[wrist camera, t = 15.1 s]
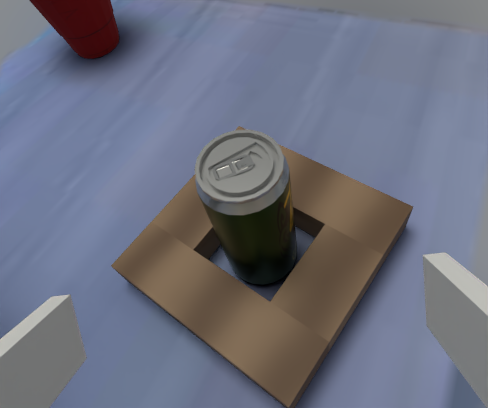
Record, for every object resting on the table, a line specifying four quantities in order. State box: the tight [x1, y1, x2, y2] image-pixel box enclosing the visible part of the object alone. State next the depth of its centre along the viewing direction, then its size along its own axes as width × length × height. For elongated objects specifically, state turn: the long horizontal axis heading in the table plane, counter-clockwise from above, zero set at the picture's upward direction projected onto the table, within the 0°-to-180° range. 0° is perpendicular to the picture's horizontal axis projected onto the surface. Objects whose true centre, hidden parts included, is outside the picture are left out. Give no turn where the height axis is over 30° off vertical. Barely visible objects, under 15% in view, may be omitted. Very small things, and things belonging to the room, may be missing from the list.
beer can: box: [195, 130, 297, 284], centre depth 27 cm, size 5×5×12 cm
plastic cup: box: [30, 0, 119, 59], centre depth 46 cm, size 11×11×12 cm
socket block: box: [111, 126, 413, 408], centre depth 30 cm, size 16×16×3 cm
